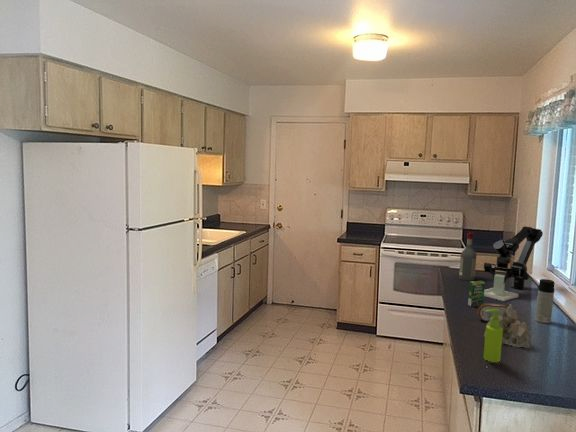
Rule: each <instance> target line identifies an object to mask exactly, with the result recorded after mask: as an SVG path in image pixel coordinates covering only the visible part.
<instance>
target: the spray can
mask: <svg viewBox="0 0 576 432" xmlns="http://www.w3.org/2000/svg"><path fill="white" fill-rule="evenodd" d="M554 294H555V281H554V280H552V279H546V278H543V279H542V278H541V279H539V283H538V289H537V299H536V308H535V316H534V317H535V318H534V319H535V322H538V323H541V324H550V323H551V321H552V316H553V315H552V312H553V305H554V296H555V295H554Z"/></svg>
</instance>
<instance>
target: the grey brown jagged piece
mask: <svg viewBox="0 0 576 432" xmlns="http://www.w3.org/2000/svg"><path fill="white" fill-rule="evenodd" d="M498 310H499V309H498ZM498 318H499V319H500V327H502V328H503V335H502V342H503V343H505V344H509V345H513V346H517V347H529V346H530V340H531V339H530V338H532V334H530V331H529V328H528V324H527V323H526V322H524V321H522V322H521V321H520V320H519V317H518V314H517V310H514V307H513V304H512V303H511V304H510V303H509V304H508V306H507V310H505V312H504V314H503V316H502V317H501V316H499V312H498ZM485 325H486V326H487V325H490V321H487V323H486V324H485ZM485 333H486V330H485V332H484V333H483V336H484V337H485ZM484 337H483V338H484ZM530 347H531V346H530ZM530 347H529V348H530Z"/></svg>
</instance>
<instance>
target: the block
mask: <svg viewBox="0 0 576 432" xmlns="http://www.w3.org/2000/svg"><path fill="white" fill-rule="evenodd" d="M505 276H506V274H505V275H504V274H499V273H496V275H495V276H494V279H493V287H492V288H493V293H496V294H502V295H503V293H504V290H505V286H506V282H505V283H504V279H505Z"/></svg>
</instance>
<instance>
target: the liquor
mask: <svg viewBox="0 0 576 432" xmlns="http://www.w3.org/2000/svg"><path fill="white" fill-rule="evenodd" d="M473 239H474V232H467V234H466V247H465V248H464V249H463V250H462V252H461V253H460V258H459V259H460V260H459V273H458V278H459V280H462V281H467V282H472V281H475V278H476V277H475V276H476V268H477V267H476V266H477V253H476V251H475V250H474V248H473Z"/></svg>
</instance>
